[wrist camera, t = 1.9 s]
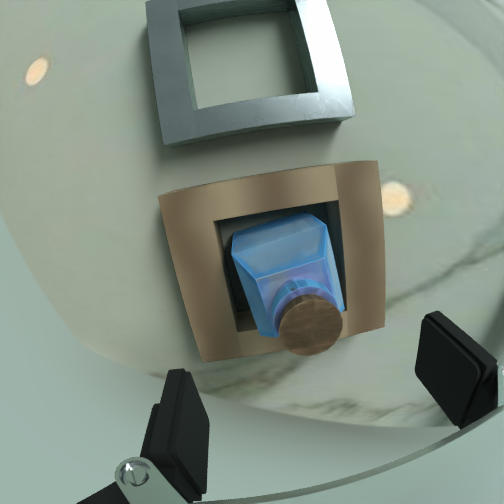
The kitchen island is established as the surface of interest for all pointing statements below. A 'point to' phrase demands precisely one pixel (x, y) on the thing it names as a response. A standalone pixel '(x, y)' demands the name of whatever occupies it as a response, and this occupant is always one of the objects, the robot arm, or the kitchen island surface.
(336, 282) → the perfume bottle
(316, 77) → the block
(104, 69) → the kitchen island surface
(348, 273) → the tan square frame
